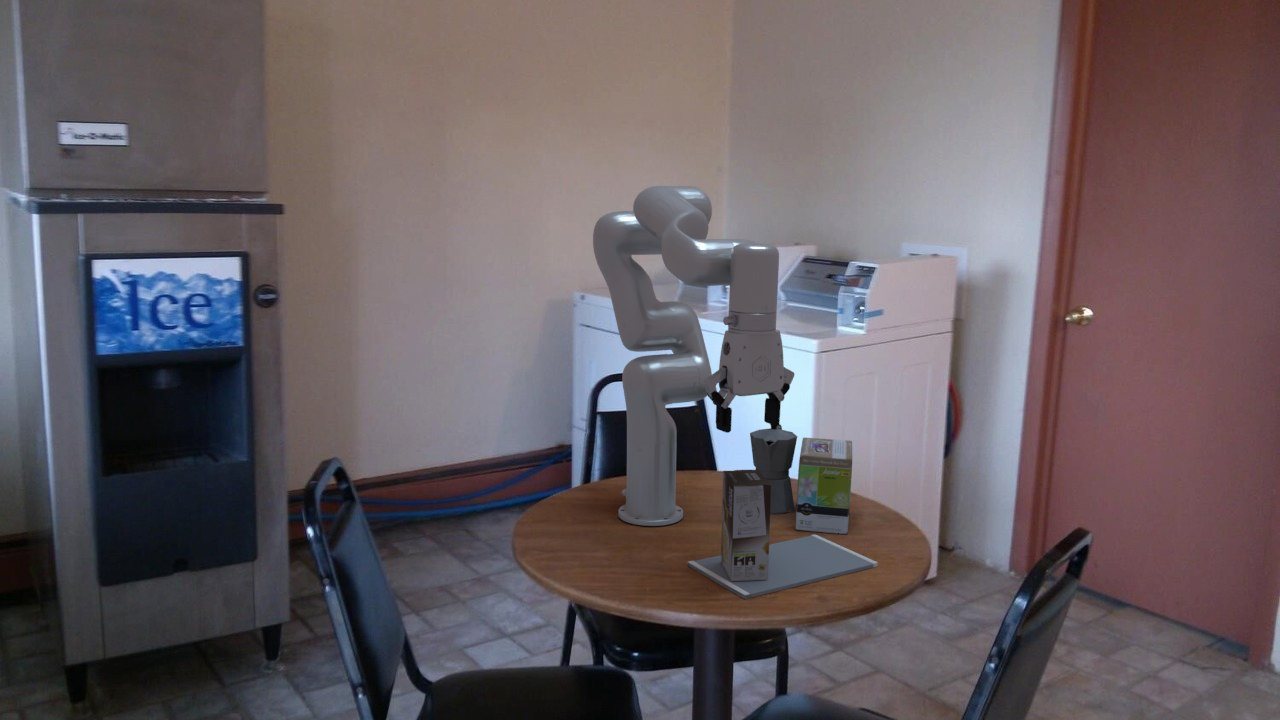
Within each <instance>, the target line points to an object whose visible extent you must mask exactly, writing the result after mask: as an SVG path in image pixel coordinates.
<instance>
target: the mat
mask: <svg viewBox="0 0 1280 720" xmlns="http://www.w3.org/2000/svg"><path fill="white" fill-rule="evenodd" d="M878 564H879V563H878V561H875V560H873V559H871V558H868V557H866V556H865V555H862V554H861V553H857V551H856V552H855V551H853V550H851V549H849V548H847V547H844V546H842V545H839V544H838V543H835V542H833V541H831V540H829V539H827V538H824V537H823V536H820V535H817V534H810V535H808V536H803V537H800V538H798V537H797V538H795V539H788V540H785V541H780V542H776V543H771V544H770V543H769V566H768V579H767V580H753V581H731V579H730V578H729V576H728V574H727V572H726V570H725V568H724V567H723V565H722V563H721V554H720V555H715V556H712V557H711V556H710V557H706V558H700V559H697V560H689V561H687V567H689V568H691V569H693V570H695V571H696V572H697V573H699V574H701V575H703V576H704V577H706V578H708V579H710V580H711V581H713V582H714V583H716V584H718V585H719V586H721V587H723V588H725V589H727V590H728V591H730V592H731V593H733V594H736V595H737V596H738V597H740V598H742V599H743V600H748V599H751V598H755V597H759V596H763V595H767V594H771V593H775V592H780V591H784V590H787V589H791V588H792V589H793V588H796V587H799V586H805V585H808V584H812V583H816V582H819V581H824V580H829V579H831V578H835V577H840V576H845V575H847V574H853V573H857V572H860V571H864V570H869V569H872V568H877V567H878Z"/></svg>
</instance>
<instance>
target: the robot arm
mask: <svg viewBox="0 0 1280 720" xmlns="http://www.w3.org/2000/svg"><path fill="white" fill-rule="evenodd" d="M712 214H713V206H712V203H711V199H710V198H709V196H708V194H707V193H706V192H705V191H704V190H703V189H701V188H699V187H696V186H690V185H689V186H688V185H687V186H686V185H653V186H650V187H647V188H645V189H643V190H641V191H640V192H639V193H638V194H637V195H636V197H635V199H634V200H633V206H632V210H623V211H622V210H621V211H619V210H618V211H613V212H610V213H606V214H604V215H602V216H601V217H600V218H598V220H597V221H596V222H595V225H594V228H593V233H592V234H593V235H592V246H593V247H592V248H593V253H594V256H595V257H594V258H595V261H596V263H597V264H596V265H598V269H599V272H600V273H601V274H602V275H601V276H603V279H604V281H605V283H606V286H607V289H608V291H609V294H610V299H611V303H612V307H613V312H614V317H615V322H616V326H617V331H618V334H619V338H620V341H621V343H622V345H623V346H624V347H625V349H627V350H628V351H630V352H635V353H636V352H642V353H643V352H658V351H659V352H660V351H661V352H663V351H671V352H672V353H664V354H663V353H661V354H648V355H642V356H637V357H635V358H633V359H631V360H630V361H628V363H626V364H625V366H624V367H623V371H622V376H621V379H622V381H621V383H622V390H623V395H624V401H625V409H626V410H625V411H626V488H623V489H622V490H621V495H622V496H624V497H625V504H623V505H621V506H620V507H619V508H618V513H617V514H618V517H619V518H620V520H622V521H623V522H625V523H628V524H632V525H636V526H644V527H659V526H660V527H661V526H669V525H672V524H675V523H678V522H680V521H681V520H683V517H684V510H683V508H682V507H680V506H679V505H677V504H676V495H677V494H676V491H677V490H676V489H677V488H676V487H677V483H676V482H677V443H678V442H677V438H678V437H677V426H676V423H675V420H674V419H673V417H672V416H671V415H670V413H669V412H668V410H667V409H666V406H667V405H673V404H680V403H681V404H683V403H691V402H698V401H701V400H704V399H705V398H706V397H708V398H709V399H710V401H711V402H712V404H713V405H714V406H716V407H715V427H716V430H719V431H721V432H724V433H726V434H729V433H730V432H731V431H732V419H733V418H732V417H733V416H732V412H733V410H732V407H730V404H732V401H733V400H734V399H735V397H736V396H738V397H748V396H750V397H751V396H758V395H765V394H766V395H767V396H768V397H765V400H764V417H763V418H764V419H763V420H764V422H765V423H767V424H769V425H770V424H772V425H775V426H778V425H779V424H780V419H781V405H782V402H784V400H785V396H786V394H787V393H788V392H789V391H790V389H791V384H792V382H793V381H794V380H793V379H794V378H795V372H793V371H792V370H791V369H788V368H786V367H785V364H784V348H783V341H782V336H781V331H780V330H779V329H777V311H778V291H779V290H778V289H779V271H780V270H779V267H780V253H779V249H778V248H777V246H776V245H773V244H769V243H759V242H757V243H756V242H755V241H752V240H749V239H745V238H743V239H741V238H733V239H732V238H730V239H729V238H721V239H720V238H717V239H716V238H715V239H714V238H713V239H712V238H708V239H707V237H708V234H709V224H710V222H711V220H712ZM637 255H638V256H640V255H641V256H646V255H647V256H649V255H650V256H653V255H661V258H662V261H663V264H664V266H665V268H666V269H667V270H668V271H669V272H670V273H671V274H672V276H675V277H676V278H677V280H680V281H681V282H682V283H683V284H686V285H688V286H691V287H692V286H693V287H709V286H710V287H716V286H729V293H728V294H729V297H728V298H729V300H728V315H727V316H724V317H723V320H722V322H723V324H724V325H725V326H727V330H725V331H724V335H723V339H722V344H721V349H720V357H719V363H718V370H716V371H715V372H714V373H712V372H713V371H712V368H711V364H710V359H709V354H708V351H707V347H706V343H705V339H704V334H703V331H702V328H701V323H700V321H699V318H698V315H697V313H696V312H695V310H694V308H693V307H692V306H690V305H689V304H688V303H686V302H683V301H677V300H676V301H672V300H671V301H660V300H658V299H657V296H656V293H655V290H654V285H653V281H652V279H651V276H649V274H648V273H647V272H646V271H645V269H644V268H643V266H641V265H640V264H639V263H638V262H637V261H636V260H634V259H633V257H632V256H637ZM717 384H718V387H719V390H718V389H717Z"/></svg>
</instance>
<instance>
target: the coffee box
mask: <svg viewBox="0 0 1280 720" xmlns="http://www.w3.org/2000/svg"><path fill="white" fill-rule="evenodd" d="M721 499H722V502H721V503H722V506H721V520H722V521H721V547H720V548H721V549H720V550H721V553H720V555H721V563H722V565H723V567H724V568H725V570H726V572H727V574H728V576H729V578H730V579H731V581H753V580H767V579H768V566H769V545H770V533H771V531H770V529H771V514H770V506H771V484H770V483H769V482H768V480H767V479H766V478H765V477H764V476H763V475H762V474H761V472H760V471H759V470H756V469H736V470H735V469H734V470H723V471H722V498H721Z"/></svg>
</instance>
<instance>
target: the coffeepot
mask: <svg viewBox="0 0 1280 720" xmlns="http://www.w3.org/2000/svg"><path fill="white" fill-rule="evenodd" d="M769 425H770V428H762V429H758V430H757V429H756V430H755V431H751V432H750V433H749V437H750V443H751V445H750V446H751V454H752V462H753V466H754V467H755V470H759V471H760V472H761V474H762V475H763V476H764V477H765V478H766V479H767V480H768V482H769V483H770V484H771V506H770V515H780V514H779V513H783V514H787V513H789V511H790V510H791V511H792V510H793V509H795V504H794V496H793V488H792V480H791V477H790V469H792V468H793V467H792V466H793V461H794V455H795V451H796V447H797V446H796V445H797V440H798V435H796V434H795V433H794V432H793V431H790V430H785V429H783V426H782V424H780V423H779V425H778V426H775V425H772V424H769ZM791 511H790V512H791ZM786 512H787V513H786Z"/></svg>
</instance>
